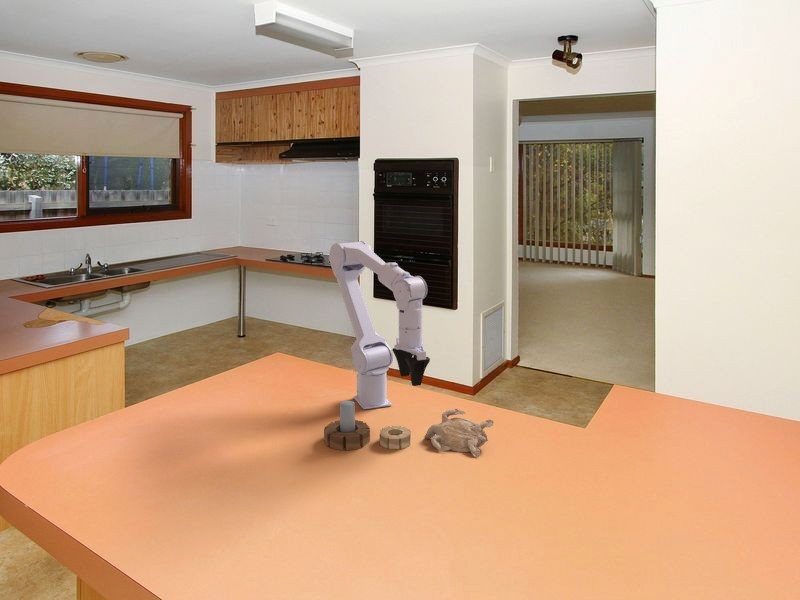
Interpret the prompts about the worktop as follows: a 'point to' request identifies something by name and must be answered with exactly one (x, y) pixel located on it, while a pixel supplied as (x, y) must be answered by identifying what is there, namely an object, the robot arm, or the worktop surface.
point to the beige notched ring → (395, 437)
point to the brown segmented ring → (346, 436)
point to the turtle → (458, 433)
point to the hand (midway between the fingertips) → (410, 380)
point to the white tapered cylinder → (347, 417)
